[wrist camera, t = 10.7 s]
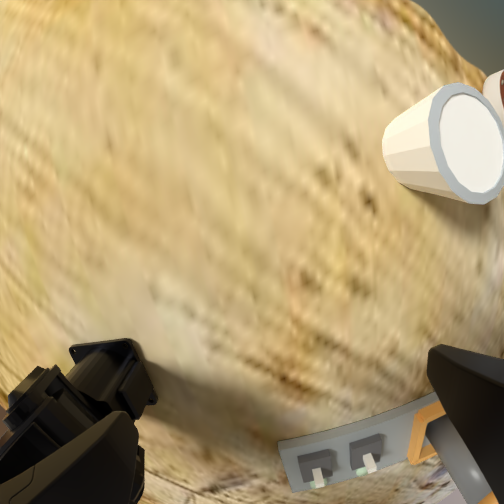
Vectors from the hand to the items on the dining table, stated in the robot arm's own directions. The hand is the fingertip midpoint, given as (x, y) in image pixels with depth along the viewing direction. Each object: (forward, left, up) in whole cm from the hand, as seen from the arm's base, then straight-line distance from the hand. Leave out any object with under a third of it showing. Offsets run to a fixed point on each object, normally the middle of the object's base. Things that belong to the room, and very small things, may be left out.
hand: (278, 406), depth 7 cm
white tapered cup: (+13, +6, -13) cm, 20 cm away
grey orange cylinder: (+15, -21, -12) cm, 29 cm away
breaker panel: (+9, -21, -13) cm, 26 cm away
